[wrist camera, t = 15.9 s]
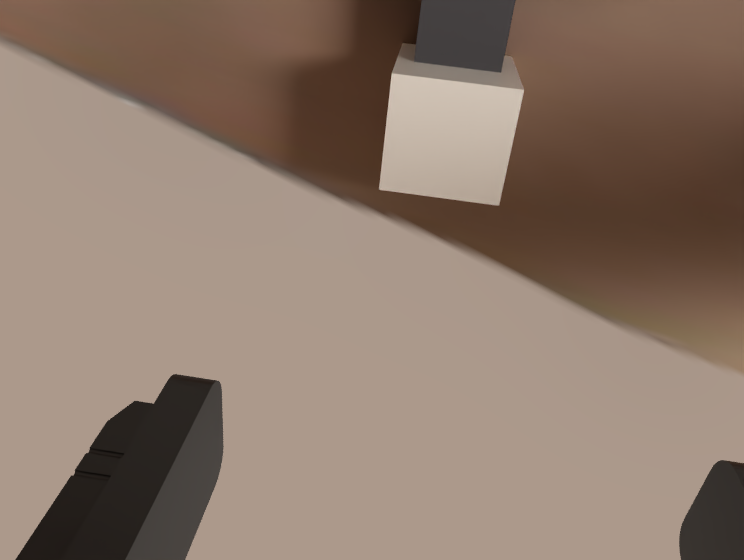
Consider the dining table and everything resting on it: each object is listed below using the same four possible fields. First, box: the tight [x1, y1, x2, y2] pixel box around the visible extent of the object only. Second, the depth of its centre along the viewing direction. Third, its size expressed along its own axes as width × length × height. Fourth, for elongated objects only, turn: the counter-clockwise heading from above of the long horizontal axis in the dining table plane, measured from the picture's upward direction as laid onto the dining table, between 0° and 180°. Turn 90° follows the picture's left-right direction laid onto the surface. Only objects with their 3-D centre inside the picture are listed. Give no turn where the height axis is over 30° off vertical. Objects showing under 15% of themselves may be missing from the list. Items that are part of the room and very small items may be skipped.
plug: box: [379, 0, 524, 206], centre depth 22 cm, size 13×4×5 cm, turn 174°
